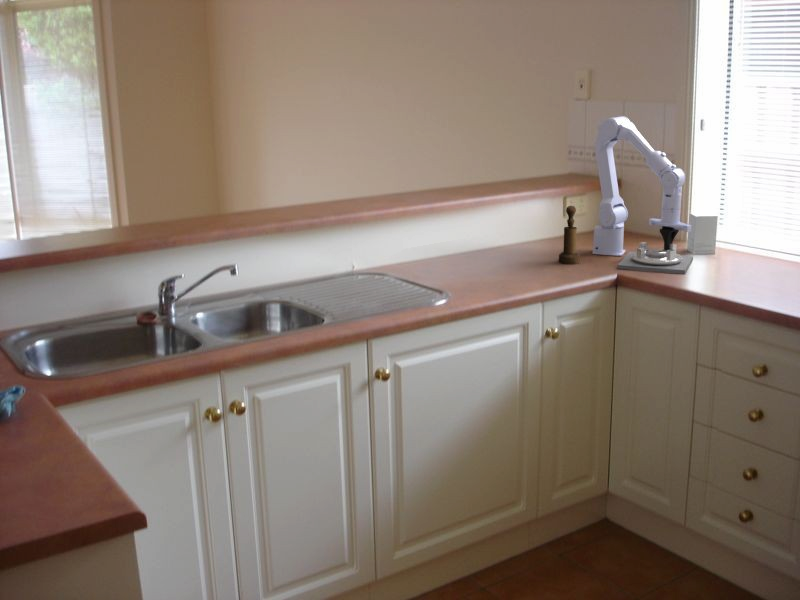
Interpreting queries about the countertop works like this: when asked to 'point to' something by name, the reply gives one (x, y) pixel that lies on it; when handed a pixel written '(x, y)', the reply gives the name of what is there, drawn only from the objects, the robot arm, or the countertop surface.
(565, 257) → the brown chess piece
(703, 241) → the supplement box
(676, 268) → the cap plate
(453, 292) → the countertop surface
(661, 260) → the domed lug disc
